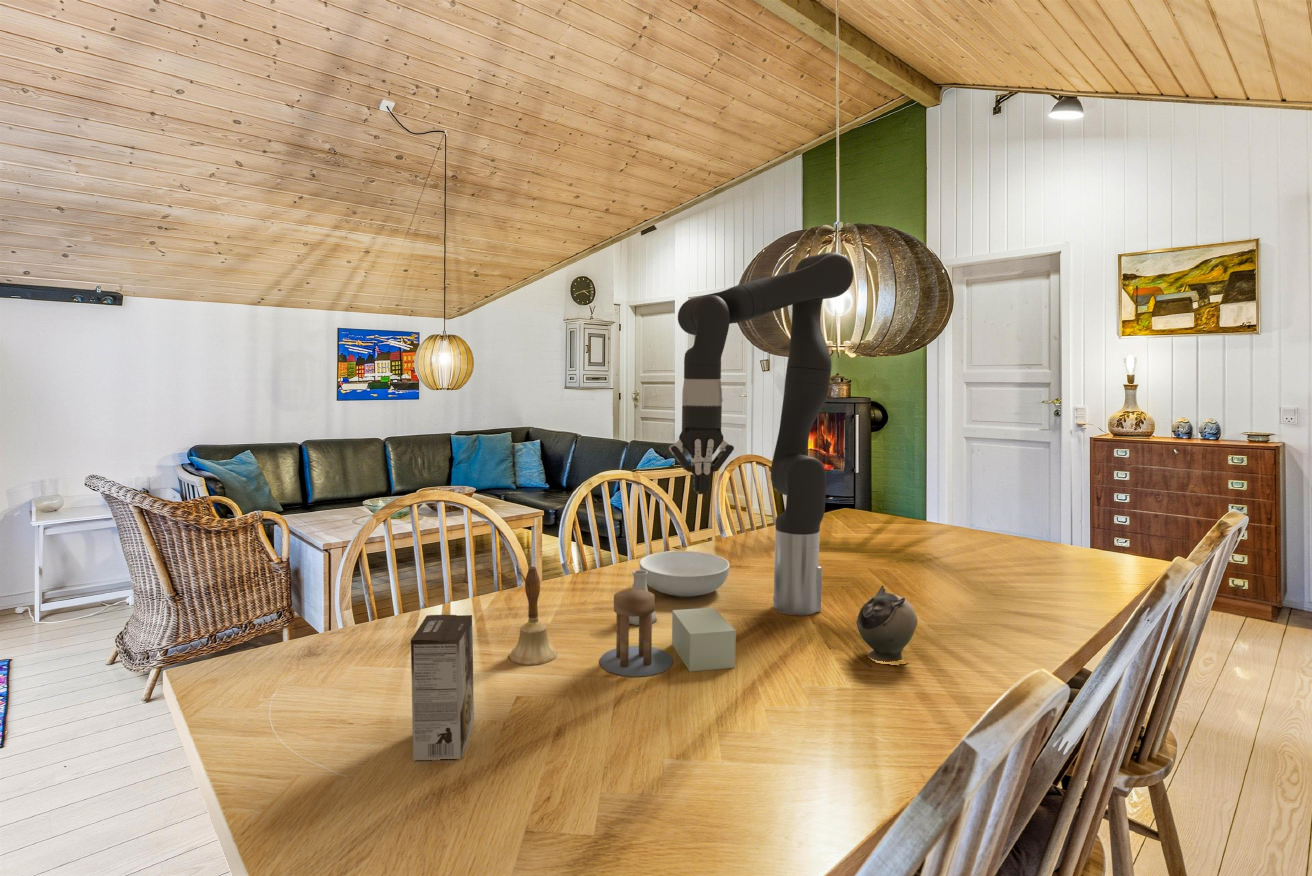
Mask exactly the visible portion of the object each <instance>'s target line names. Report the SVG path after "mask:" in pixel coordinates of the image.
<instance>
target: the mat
mask: <svg viewBox="0 0 1312 876" xmlns="http://www.w3.org/2000/svg"><path fill="white" fill-rule="evenodd" d="M673 661H674V660H673V657H672V656H671V655H670V653H668V652H667V651H666V650H662V649H660V648H657V647H653V646H652V659H651V665H649V666H646V665H644V664H643V656H639V645H629V659H628V667H625V668H623V667H620V658H617V657H616V648H612V649H610V650H608V651H606V652H605V653H603V654H602V655H601V656H600V659H599V664H600V666H601V668H602V669H603V670H605V671H606V672H609V673H610V674H614V675H618V676H622V677H632V678H633V677H634V678H635V677H639V678H641V677H651V676H655V675H659V674H661V673H664V672H666V671H668V670H669V669H670V668H671V667H672V665H673Z"/></svg>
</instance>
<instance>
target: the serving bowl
mask: <svg viewBox="0 0 1312 876" xmlns="http://www.w3.org/2000/svg"><path fill="white" fill-rule="evenodd" d="M639 570H645V571H647V572H648V575H647V577H646V583H647V586H649V587H651V588H652V589H653V590H655V591H657V592H660V593H662V594H666V595H670V596H675V597H680V598H682V597H685V598H686V597H687V598H690V597H696V596H703V595H707V594H710V593H712V592H715V591H717V590H718V589H719V588H721V587H722V586H723V584H724V583H725V582H726V580H727V578H728V576H729V572H730V562H729V561H728V560H727V559H725V558H724V557H722V556H719V555H716V554H712V553H708V552H702V551H694V550H671V551H668V550H667V551H662V552H661V551H660V552H655V553H651V554H648V555H645V556H643V557H641V558H640V561H639Z"/></svg>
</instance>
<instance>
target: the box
mask: <svg viewBox="0 0 1312 876" xmlns="http://www.w3.org/2000/svg"><path fill="white" fill-rule="evenodd" d="M671 613H672V615H671V616H672V619H671V622H672V623H671V625H672V626H671V645H672V647H673V649H674V650H675V651H676V653H677V655H678V656H679V658H680V659H681V661H682V662H683V664H684V665H685V666H686V669H687V670H688V672H700V671H712V670H721V669H722V670H723V669H735V668H736V633H737V632H736V631H737V630H736V629H735V628H734V627H733V626H732V625H731V624H730V622H728V620H727V619H726V618H725V617H724V616H723V615H722V614H721V613H720V612H719V611H718V610H717V609H716V608H715V607H702V608H687V609H686V608H685V609H684V608H683V609H673V610H672V612H671Z"/></svg>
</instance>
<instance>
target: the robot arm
mask: <svg viewBox="0 0 1312 876" xmlns="http://www.w3.org/2000/svg"><path fill="white" fill-rule="evenodd" d="M853 280H854V268H853V265H852V263H851V261H850V259H849V258H848V257H847V256H846V255H844V254H842V253H839V252H824V253H820V254H819V253H818V254H816V255H815V254H814V255H810V256H807V257H804V258H802V259H801V260H800V261H799V262H798V263H797V265H796V266H795V269H794V270H793V271H790V272H786V273H782V274H776V275H773V276H767V277H763V278H758V279H753V280H751V281H747V282H744V283H740V284H738V285H734V286H732V287H730V288H728V289H725V290H722V291H718V292H714V293H713V292H712V293H709V294H704V295H700V296H695V297H693V298H689V299H688V300H686V301H684V302H683V303H682V305H681V306H680V307H679V310H678V311H677V312H678V313H677V323H678V325H679V327H680V328H681V329H682V330H683V331H684V333H687V334H688V335H692V336H695V339H694V343H693V346H691V347H690V348H689V349H687V350H686V351H685V354H684V358H683V360H684V361H683V385H682V393H681V395H682V398H681V400H682V401H681V403H682V404H681V406H682V407H681V433H680V434H679V437H678V439H677V441H676V442H674V443H673V444H670V445H669V446H668V451H670V453H671V454H672V456H673V457H674V458H675V459H676V461H677V462H678V464H679V465H680V466H681V468H682V469H683V471H686V472H688V473H691V474H692V490H693V491H695V494H697V495H706V493H707V492H708V491H709V489H710V474H711V473H714V472H718V471H719V470H720V468H721V467H722V466H723V465H724V463H725V462H726V460H727V459H728V458H729V457H730V455H731V454H732V453H733V451H734V450H735V446H734V445H732V444H729V443H728V442H727V441H725V440H724V434H723V433H722V412H723V411H722V409H723V407H722V406H723V404H722V403H723V388H722V380H721V379H722V357H723V352H724V349H725V344H726V341H727V337H728V333H729V328H730V324H738V323H743V322H746V321H749V320H753V319H755V318H758V317H761V316H764V315H767V314H769V313H772V312H776V311H778V310H781V309H784V308H786V307H789V306H791V310H792V311H791V312H792V313H791V327H790V328H791V329H790V338H789V349H788V351H789V352H788V356H787V364H786V371H785V379H784V390H783V399H782V400H783V401H782V407H781V415H780V422H779V430H778V435H777V438H776V444H775V448H774V452H773V457H772V460H771V464H770V465H771V466H770V482H771V484H772V486H773V488H774V489H775V491H776V492H778V493H779V494H782V495H783V496H786V504H785V510H783V512H782V513H779V514H778V515H776V517H775V529H774V531H775V535H774V568H773V569H774V572H773V574H774V575H773V578H774V579H773V598H772V599H773V600H772V601H773V603H772V604H773V605H772V606H773V609H774V610H776V611H777V612H779V613H782V614H785V615H790V616H808V615H809V616H810V615H814V614H815V613H817V612H818V613H820V612H822V591H823V589H822V588H823V567H822V566H820V564H819V562H820V558H819V557H820V532H821V531H820V530H821V523H822V521H823V518H824V515H825V510H826V509H825V508H826V495H827V494H826V493H827V481H828V480H827V472H826V468H825V466H824V464H823V463H822V462H821V461H820V460H819V459H818V458H815V457H814V456H809V455H808V446H809V445H808V444H809V438H810V433H811V430H812V428H813V425H814V423H815V421H816V419H817V417H818V416H819V415H820V412H821V410H822V409H823V406H824V405H825V403H826V401H827V399H828V398H827V397H828V395H829V390H830V384H831V383H830V382H831V375H832V374H831V373H832V359H831V354H830V351H829V347H828V345H827V343H826V340H825V337H824V334H823V332H822V327H821V315H822V305H823V300H826V299H833V298H836V297H837V298H838V297H839V296H842V295H843V294H845V293H846V292H847V291H848V290H849V288H850V287H851V286H852V283H853ZM683 447H684V449H685V450H686V452H687V454H689V456H690V462H689V461H688V459H687V458H686V457H685V456H684V454H683V451H684V449H683ZM717 450H719V452H718V454H717V455H716V456H715V457H714V458H713V455H714V454H715V452H716V451H717ZM690 463H691V464H690Z"/></svg>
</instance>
